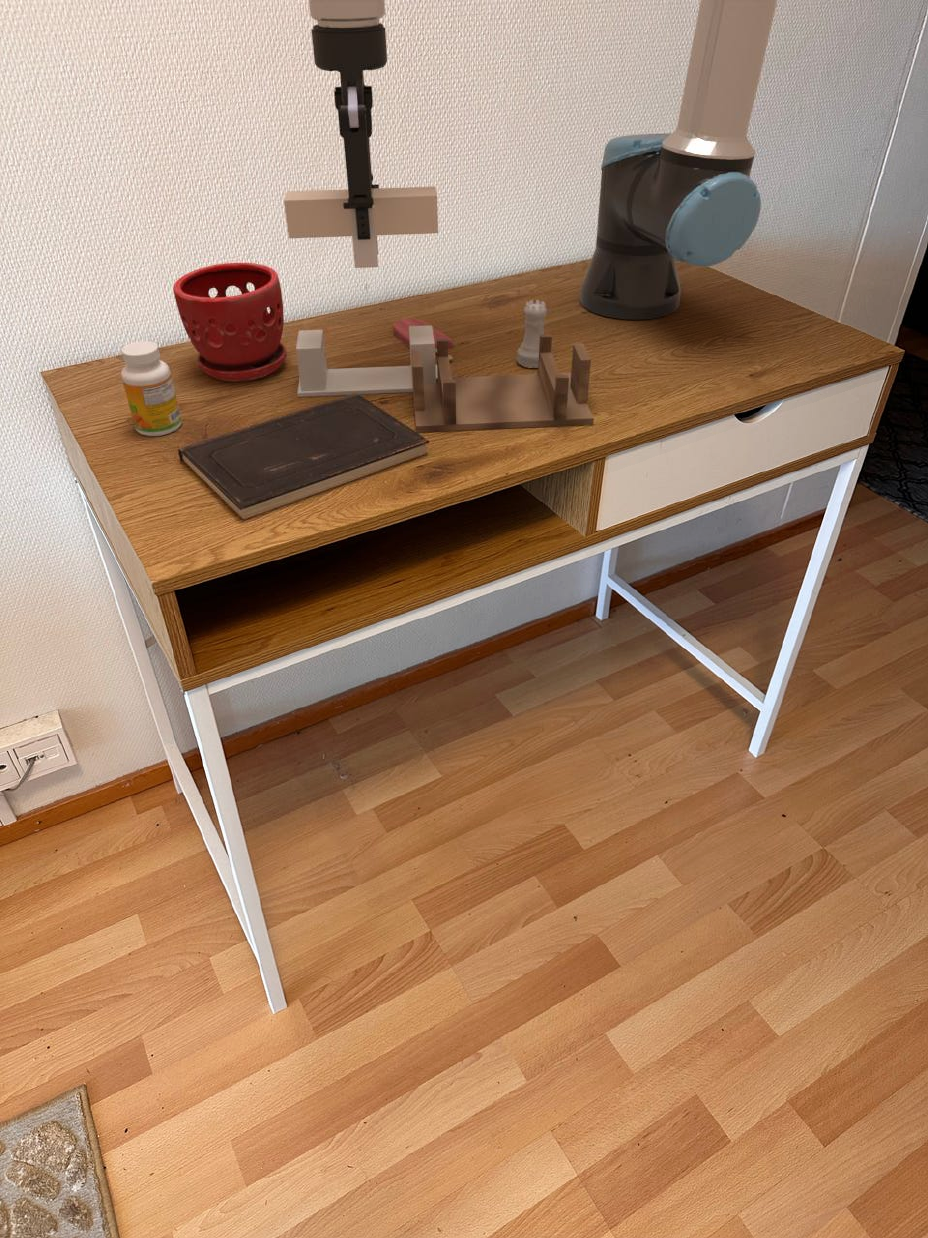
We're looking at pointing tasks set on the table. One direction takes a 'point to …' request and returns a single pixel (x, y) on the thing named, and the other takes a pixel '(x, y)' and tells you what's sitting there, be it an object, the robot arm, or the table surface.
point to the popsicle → (403, 325)
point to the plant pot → (233, 320)
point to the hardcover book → (301, 453)
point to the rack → (502, 395)
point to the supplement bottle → (149, 390)
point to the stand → (360, 380)
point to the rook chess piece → (532, 333)
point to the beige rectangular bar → (329, 218)
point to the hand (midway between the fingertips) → (366, 259)
